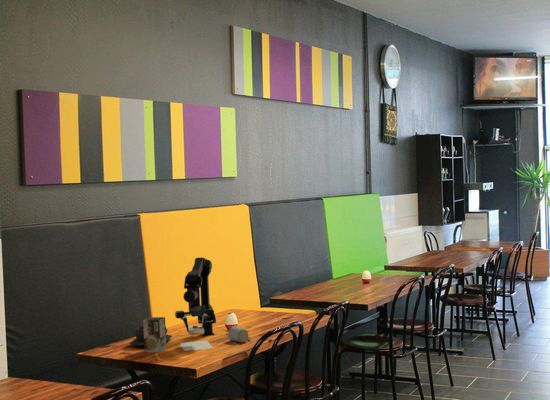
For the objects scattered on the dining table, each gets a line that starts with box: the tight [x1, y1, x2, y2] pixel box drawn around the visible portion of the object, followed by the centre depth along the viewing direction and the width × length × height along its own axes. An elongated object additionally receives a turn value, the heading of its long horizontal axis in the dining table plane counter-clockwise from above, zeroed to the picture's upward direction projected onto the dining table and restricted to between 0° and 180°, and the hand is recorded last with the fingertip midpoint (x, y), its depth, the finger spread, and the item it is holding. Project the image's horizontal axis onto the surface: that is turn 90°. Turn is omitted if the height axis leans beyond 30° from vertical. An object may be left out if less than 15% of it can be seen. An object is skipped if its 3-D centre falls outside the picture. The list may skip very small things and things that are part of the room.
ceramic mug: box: [227, 325, 251, 344], centre depth 373 cm, size 11×8×8 cm
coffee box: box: [142, 316, 168, 353], centre depth 357 cm, size 9×6×16 cm
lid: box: [186, 324, 204, 336], centre depth 364 cm, size 11×7×3 cm, turn 15°
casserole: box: [129, 325, 173, 347], centre depth 375 cm, size 25×19×8 cm
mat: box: [179, 340, 214, 352], centre depth 365 cm, size 18×14×1 cm
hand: (195, 330), depth 364 cm, fingers closed on lid, 7 cm apart
